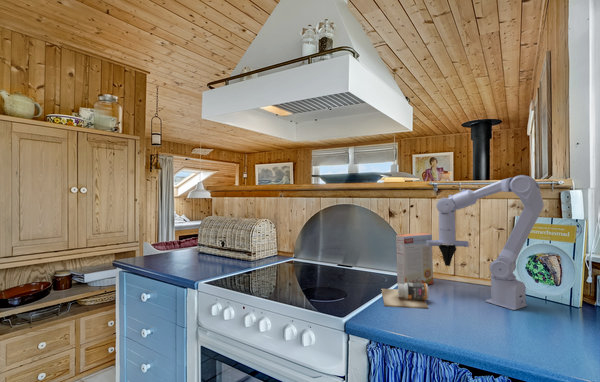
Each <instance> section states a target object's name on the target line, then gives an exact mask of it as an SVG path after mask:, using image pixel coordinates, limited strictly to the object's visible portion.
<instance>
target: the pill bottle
mask: <svg viewBox="0 0 600 382" xmlns="http://www.w3.org/2000/svg"><path fill="white" fill-rule="evenodd" d="M428 285H429V284H428ZM428 285H427V284H426V283H405V284H404V285H403V284H397V289H398V297H405V298H406V299H415V300H425V301H428V300H429V297H430V294H429V293H430V291H429V286H428Z"/></svg>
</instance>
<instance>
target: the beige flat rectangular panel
mask: <svg viewBox="0 0 600 382" xmlns="http://www.w3.org/2000/svg"><path fill="white" fill-rule="evenodd" d="M380 290H382V291H381V295H382V301H383V306H384V307H391V308H392V307H394V308H411V309H429V305H428V304H427V302H426V300H415V299H406V298H405V297H398V288H381V289H380Z"/></svg>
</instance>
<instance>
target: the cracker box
mask: <svg viewBox="0 0 600 382" xmlns="http://www.w3.org/2000/svg"><path fill="white" fill-rule="evenodd" d="M427 240H433V234H431V233H427V232H416V233H414V232H413V233H402V234H396V235H395V243H396V244H395V245H396V249H395V250H396V281H397V283H396V284H397V285H398V284H403V285H404V284H405V283H426V284H427V285H434V263H433V261H434V260H433V246H427Z"/></svg>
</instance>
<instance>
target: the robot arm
mask: <svg viewBox="0 0 600 382" xmlns="http://www.w3.org/2000/svg"><path fill="white" fill-rule="evenodd" d="M500 192H504V193H505V192H506V193H514V194H515V195H516V196H517V197H518V198H519V200H520V201H521V203H522V204H523V208H522V210H521V213H520V214H519V217H518V219H517V221H516V223H515V225H514V227H513V229H512V230H511V232H510V234H509V237H508V238H507V241H506V242H505V244H504V246H503V248H502V250H501V251H500V253H499V255H498V256H497V257H496V259H495V260H493V261H492V262H491V263H490V265H489V271H490V273H491V274H490V298H489V299H485V303H489V304H493V305H496V306H499V307H503V308H506V309H509V310H512V311H515V310H519V309H522V308H525V307H527V306H528V304H526V303H527V302H526V299H527V298H526V294H527V293H526V291H527V289H526V285H525V283H524V282H523V281H520V280H518V279H517V277H516V275H515V274H514V272H515V270H516V268H517V264H516V263H517V259H518V258H519V255H520V253H521V251H522V249H523V247H524V245H525V243H526V241H527V239H528V237H529V236H530V234H531V232H532V230H533V229H534V226H535V225H536V222H537V220H538V219H539V216H540V215H541V212H543V211H542V210H543V209H544V206H545V204H544V201H543V200H544V199H543V196H542V192H541V186H540V185H539V183H538V182H537V181H536V180H535V179H534V178H533V177H531V176H529V175H525V174H520V175H516V176H514V177H509V178H507V177H506V178H504V179H501V180H499V181H495V182H493V183H490V184H488V185H486V186H484V187H481V188H478V189H476V190H473V189H472V190H471V189H470V188H469V189H465V188H464V189H461V190H460V191H459V192H457V193H455V194H453V195H452V194H449V195H448V197H442V198H440V199H439V200H438V201H437V202H436V209H437V211H438V239H432V240H427V246H432V247H438V249H439V251H440V253H441V255H442V258H443V260H444V261H443V262H444V265H445V266H446V267H451V263H452V259H453V257H454V255H455V253H456V251H457V247H464V248H465V247H466V248H469V246H470V245H469V243H470V242H469V241H467V240H456V211H458V210H462V209H464V208H468V207H470V206H473V205H476V203H477V201H478V200H480V199H482V198H486V197H488V196H491V195H494V194H498V193H500Z"/></svg>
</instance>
